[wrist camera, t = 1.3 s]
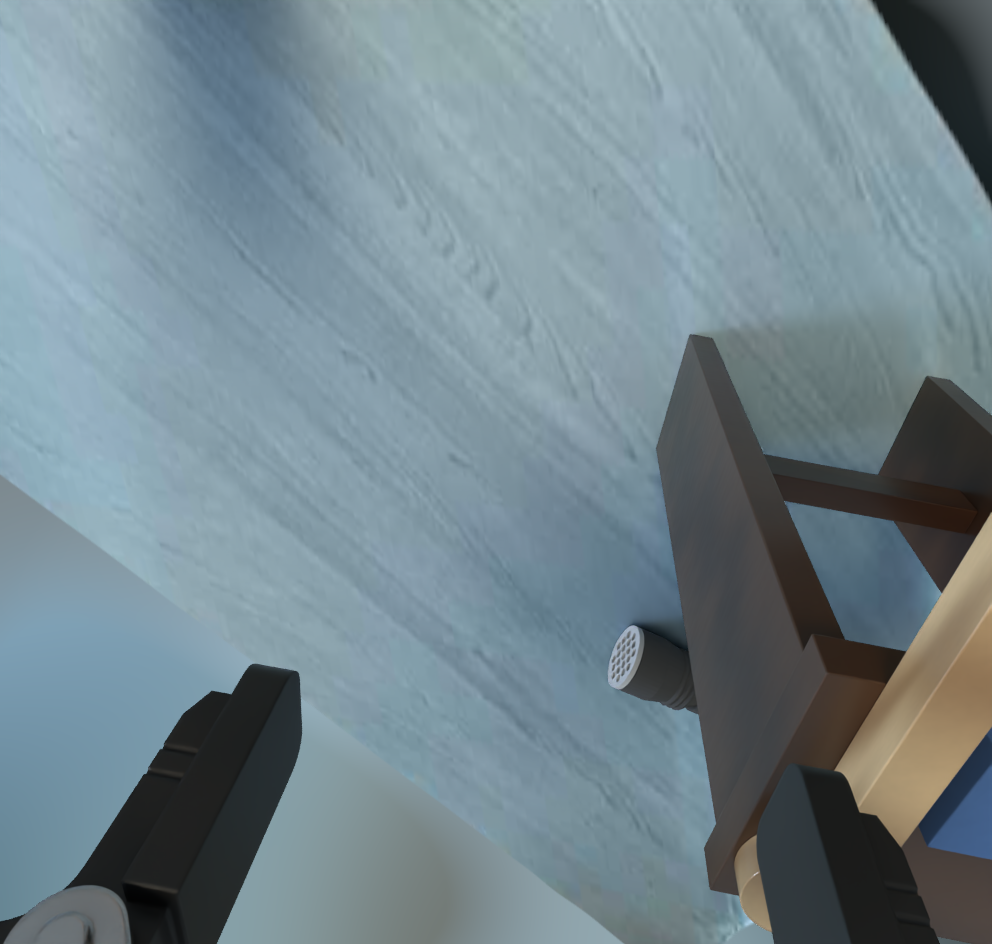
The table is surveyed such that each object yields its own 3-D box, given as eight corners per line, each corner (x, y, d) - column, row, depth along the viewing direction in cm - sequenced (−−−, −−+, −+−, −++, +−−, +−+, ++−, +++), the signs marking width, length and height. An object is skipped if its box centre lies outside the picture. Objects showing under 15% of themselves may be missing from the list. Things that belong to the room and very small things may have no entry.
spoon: (846, 915, 24) (861, 965, 23) (716, 888, 25) (723, 936, 23) (1209, 432, 15) (1273, 469, 13) (988, 393, 15) (1028, 426, 13)
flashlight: (792, 679, 61) (808, 729, 57) (756, 715, 64) (768, 766, 59) (637, 613, 60) (640, 658, 55) (607, 653, 62) (608, 700, 58)
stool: (890, 503, 52) (1226, 997, 24) (649, 459, 52) (709, 890, 25) (960, 366, 46) (1505, 803, 18) (690, 319, 47) (827, 672, 19)
